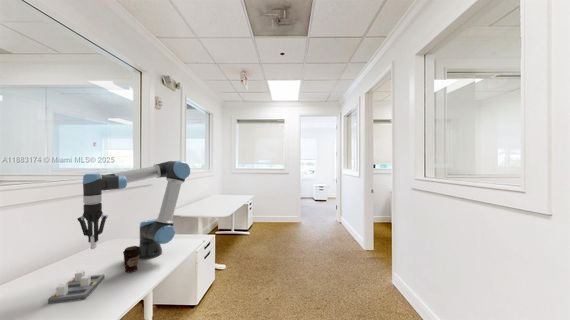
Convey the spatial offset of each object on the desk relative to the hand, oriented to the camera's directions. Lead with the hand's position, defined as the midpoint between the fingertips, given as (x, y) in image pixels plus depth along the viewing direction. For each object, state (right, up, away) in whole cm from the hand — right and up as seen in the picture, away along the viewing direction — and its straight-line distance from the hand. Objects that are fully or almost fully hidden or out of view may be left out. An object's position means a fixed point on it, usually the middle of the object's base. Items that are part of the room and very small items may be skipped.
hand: (93, 248), depth 129 cm
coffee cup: (+12, -18, +13) cm, 25 cm away
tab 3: (+2, -16, -7) cm, 18 cm away
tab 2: (-5, -16, -2) cm, 17 cm away
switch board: (-1, -17, -8) cm, 19 cm away
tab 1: (-2, -16, -16) cm, 23 cm away
